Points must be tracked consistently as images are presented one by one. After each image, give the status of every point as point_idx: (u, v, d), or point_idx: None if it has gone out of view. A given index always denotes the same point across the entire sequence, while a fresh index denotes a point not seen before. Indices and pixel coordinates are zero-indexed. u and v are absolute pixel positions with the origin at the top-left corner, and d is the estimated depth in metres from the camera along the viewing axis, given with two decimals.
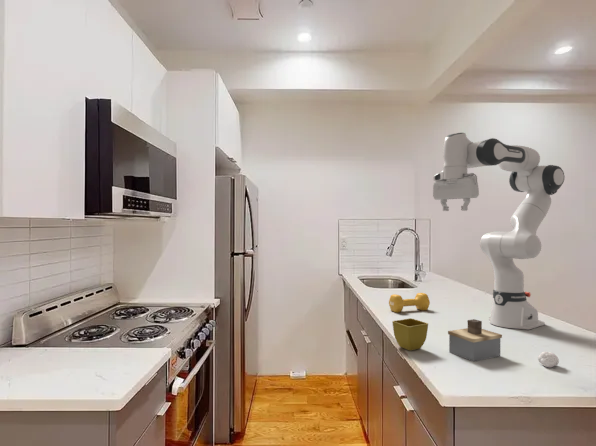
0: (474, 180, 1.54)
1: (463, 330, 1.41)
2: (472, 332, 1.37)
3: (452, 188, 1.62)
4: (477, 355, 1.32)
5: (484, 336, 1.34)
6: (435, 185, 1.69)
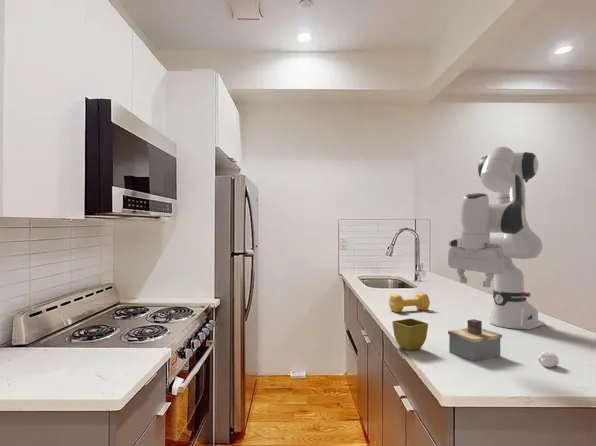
0: (499, 253, 1.29)
1: (463, 330, 1.41)
2: (472, 332, 1.37)
3: (472, 259, 1.37)
4: (477, 355, 1.32)
5: (484, 336, 1.34)
6: (451, 252, 1.44)
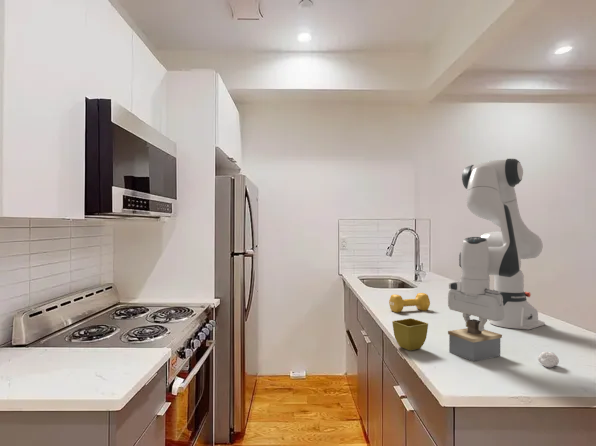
0: (499, 301, 1.29)
1: (463, 330, 1.41)
2: (472, 332, 1.37)
3: (472, 303, 1.37)
4: (477, 355, 1.32)
5: (484, 336, 1.34)
6: (451, 294, 1.44)
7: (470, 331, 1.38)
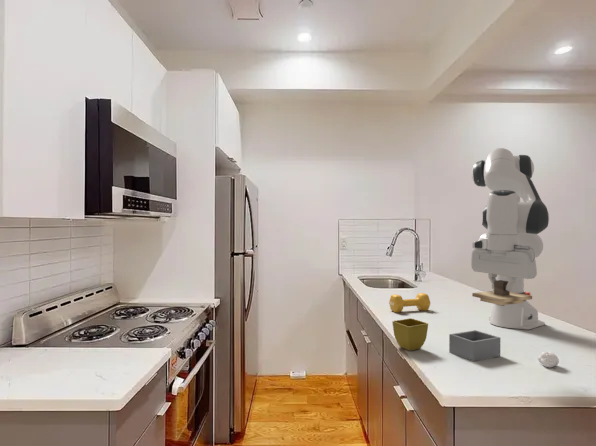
0: (531, 256, 1.17)
1: (489, 292, 1.29)
2: (499, 293, 1.25)
3: (499, 262, 1.25)
4: (477, 355, 1.32)
5: (513, 297, 1.22)
6: (475, 254, 1.33)
7: (497, 292, 1.26)
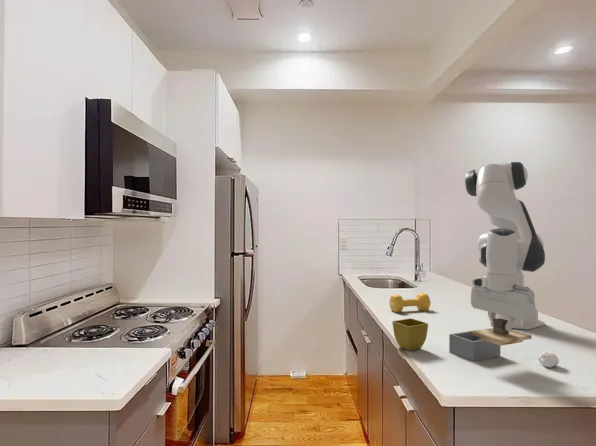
0: (530, 298, 1.17)
1: (488, 330, 1.29)
2: (499, 332, 1.25)
3: (498, 301, 1.25)
4: (477, 355, 1.32)
5: (512, 337, 1.22)
6: (474, 291, 1.33)
7: (496, 331, 1.26)
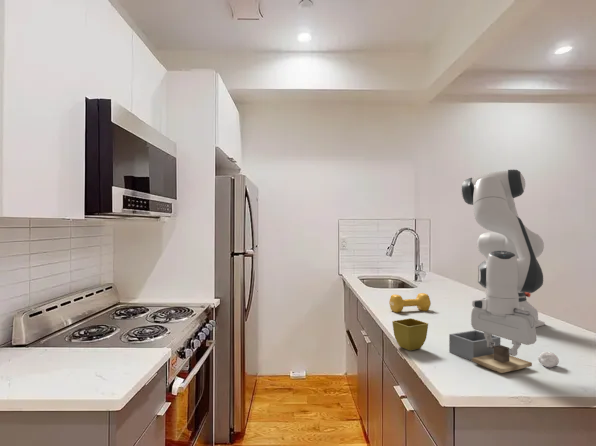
0: (531, 322, 1.17)
1: (488, 357, 1.29)
2: (499, 360, 1.26)
3: (499, 324, 1.25)
4: (477, 355, 1.32)
5: (513, 365, 1.22)
6: (474, 312, 1.33)
7: (497, 358, 1.26)
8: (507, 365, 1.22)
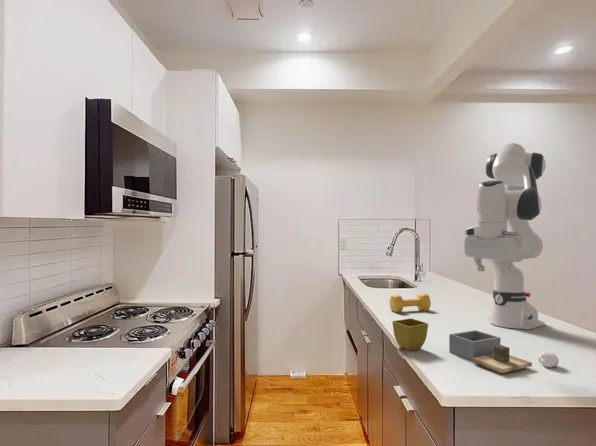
0: (518, 241, 1.28)
1: (488, 357, 1.29)
2: (499, 360, 1.26)
3: (489, 247, 1.36)
4: (477, 355, 1.32)
5: (513, 365, 1.22)
6: (467, 240, 1.43)
7: (497, 358, 1.26)
8: (507, 365, 1.22)
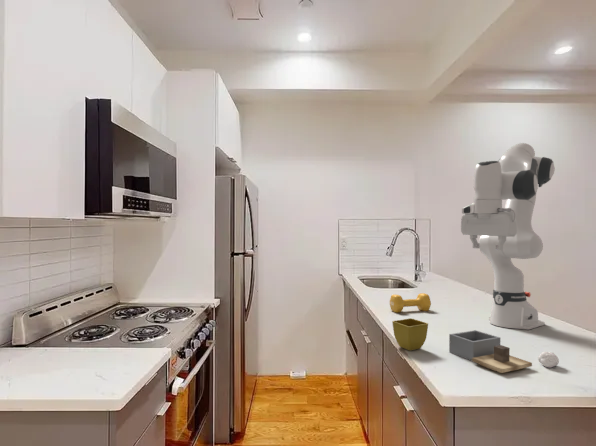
0: (512, 217, 1.34)
1: (488, 357, 1.29)
2: (499, 360, 1.26)
3: (484, 224, 1.42)
4: (477, 355, 1.32)
5: (513, 365, 1.22)
6: (464, 218, 1.49)
7: (497, 358, 1.26)
8: (507, 365, 1.22)
